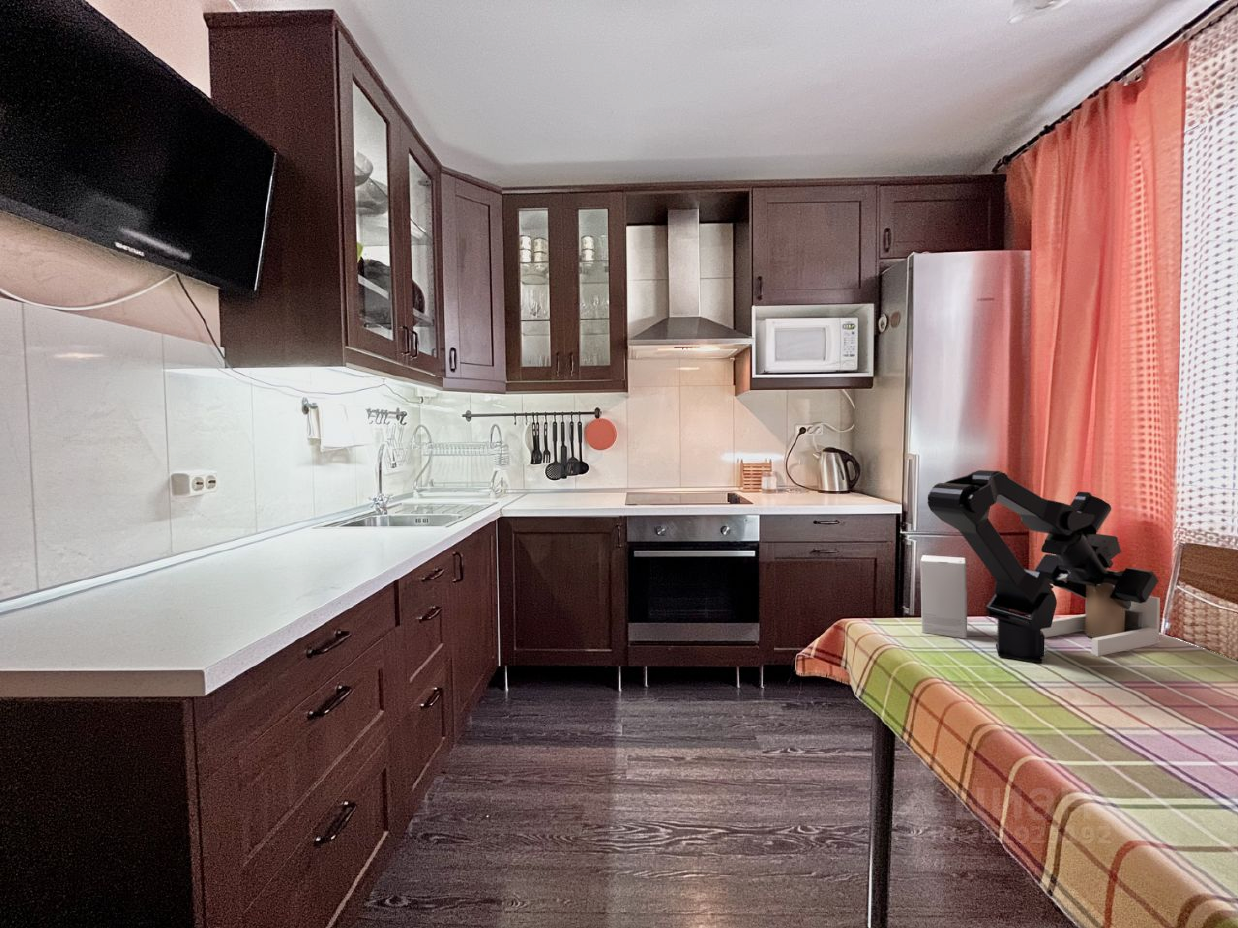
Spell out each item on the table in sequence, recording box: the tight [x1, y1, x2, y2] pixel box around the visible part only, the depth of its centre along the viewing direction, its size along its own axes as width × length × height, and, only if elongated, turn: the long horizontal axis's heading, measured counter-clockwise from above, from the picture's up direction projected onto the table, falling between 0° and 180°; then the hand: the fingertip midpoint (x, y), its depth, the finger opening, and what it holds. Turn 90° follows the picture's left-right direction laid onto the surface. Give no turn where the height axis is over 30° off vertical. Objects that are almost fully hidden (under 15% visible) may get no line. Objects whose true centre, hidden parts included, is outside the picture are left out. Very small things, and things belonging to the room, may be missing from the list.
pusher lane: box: [1041, 595, 1161, 657], centre depth 110 cm, size 18×11×9 cm, turn 109°
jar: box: [1084, 569, 1125, 639], centre depth 110 cm, size 6×6×13 cm
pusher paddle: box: [1125, 609, 1142, 632], centre depth 112 cm, size 1×8×6 cm, turn 19°
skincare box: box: [919, 554, 968, 639], centre depth 115 cm, size 8×7×16 cm
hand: (1109, 603), depth 111 cm, fingers closed on jar, 6 cm apart
